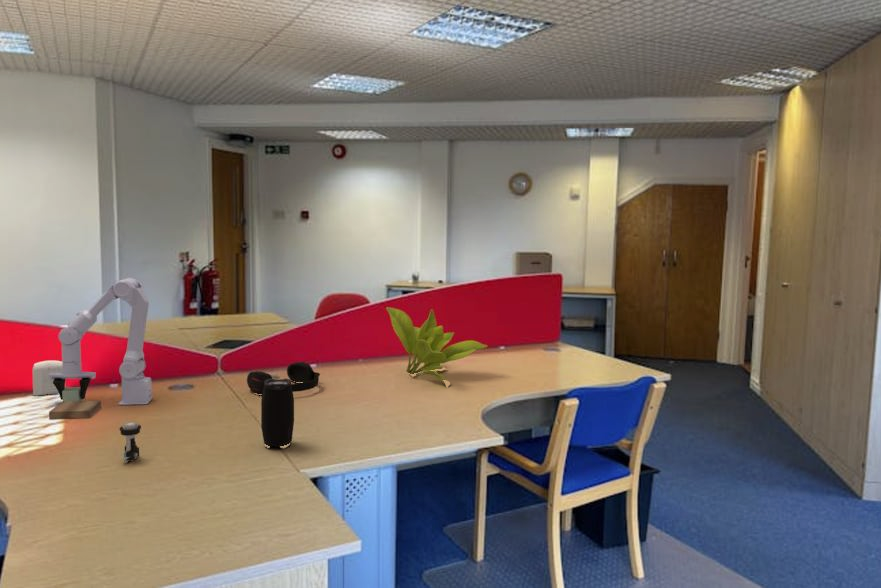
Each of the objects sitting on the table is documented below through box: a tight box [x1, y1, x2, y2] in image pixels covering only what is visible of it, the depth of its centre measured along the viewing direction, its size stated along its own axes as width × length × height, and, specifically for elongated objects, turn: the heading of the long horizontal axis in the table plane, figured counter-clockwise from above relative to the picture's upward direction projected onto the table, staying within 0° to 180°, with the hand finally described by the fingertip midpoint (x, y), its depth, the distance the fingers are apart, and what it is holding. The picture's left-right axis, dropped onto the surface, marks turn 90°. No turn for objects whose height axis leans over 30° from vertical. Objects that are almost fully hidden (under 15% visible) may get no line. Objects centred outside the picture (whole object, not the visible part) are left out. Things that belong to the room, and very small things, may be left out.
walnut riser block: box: [48, 400, 102, 420], centre depth 217 cm, size 12×12×3 cm
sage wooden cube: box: [62, 386, 84, 402], centre depth 228 cm, size 5×5×5 cm
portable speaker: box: [260, 378, 295, 446], centre depth 192 cm, size 9×9×20 cm
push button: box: [119, 421, 142, 464], centre depth 177 cm, size 7×5×10 cm
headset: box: [246, 361, 321, 394], centre depth 255 cm, size 28×26×9 cm
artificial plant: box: [385, 306, 488, 383], centre depth 280 cm, size 42×43×30 cm
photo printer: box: [32, 359, 63, 397], centre depth 238 cm, size 10×4×12 cm, turn 123°
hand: (73, 398), depth 228 cm, fingers open, 6 cm apart
